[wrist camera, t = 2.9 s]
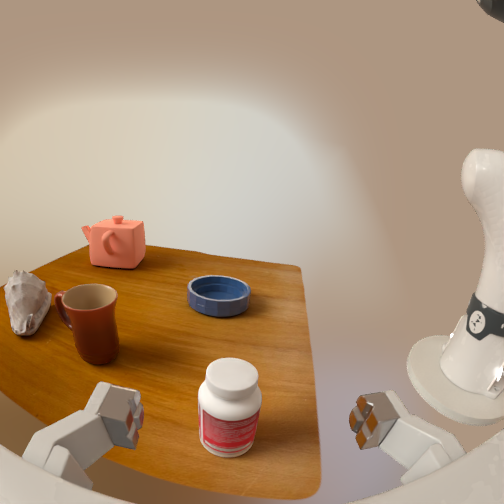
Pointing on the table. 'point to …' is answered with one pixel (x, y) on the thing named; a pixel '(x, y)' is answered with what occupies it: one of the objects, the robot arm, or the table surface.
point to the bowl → (218, 295)
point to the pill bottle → (229, 407)
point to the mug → (91, 320)
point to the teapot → (116, 242)
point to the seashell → (26, 302)
